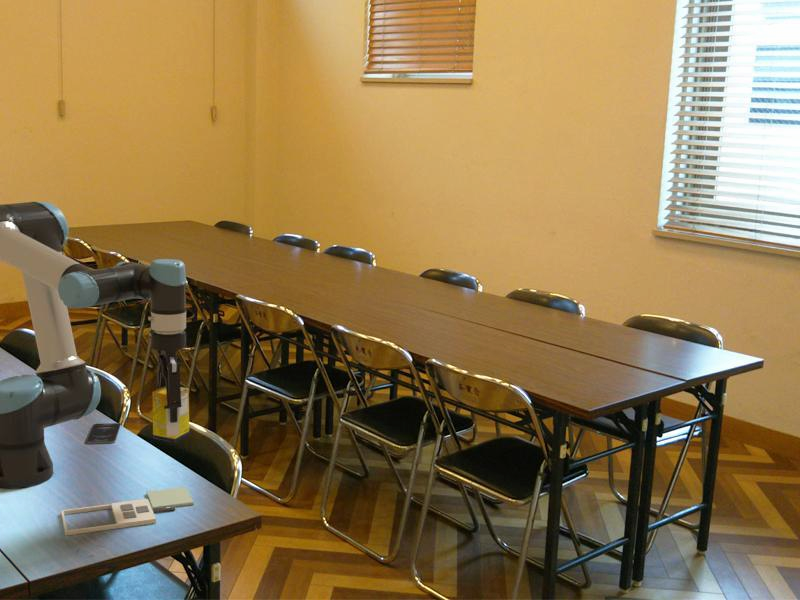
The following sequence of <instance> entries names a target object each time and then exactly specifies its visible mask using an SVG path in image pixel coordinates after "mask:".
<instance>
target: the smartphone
mask: <svg viewBox="0 0 800 600" xmlns="http://www.w3.org/2000/svg"><path fill="white" fill-rule="evenodd" d="M121 426H122V425H121V423H118V422H117V423H111V422H110V423H94V424H92V426H91V428H90V431H89V433H88V435H87V438H86V441H85V443H86V444H88V445H104V444H105V445H108V444H109V445H110V444H114V443H116V441H117V438H118V435H119V432H120V429H121Z"/></svg>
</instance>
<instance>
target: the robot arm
mask: <svg viewBox="0 0 800 600" xmlns="http://www.w3.org/2000/svg"><path fill="white" fill-rule="evenodd" d="M69 234H70V233H69V225H68V221H67V219H66V217H65V215H64V213H63V212H62V211H61V209H60V208H58V207H57V206H56V205H55V204H53V203H51V202H47V201H30V202H29V201H28V202H27V201H26V202H20V203H19V202H17V203H6V204H5V203H4V204H0V262H4V263H6V264H8V265H10V267H11V266H12V267H13V268H14V269H16V270H18V271H20V272H21V274H22V278H23V279H22V280H23V285H24V289H25V293H26V298H27V303H28V304H27V305H28V309H29V311H30V316H31V317H30V319H31V323H32V326H33V327H32V329H33V332H34V338H35V343H36V347H37V350H38V351H37V352H38V357H39V360H40V362H39V363H40V364H39V365H38V367H37V369H36V370H35V375H34V374H33V375H32V374H23V375H19V376H18V375H14V376H11V377H7V378H5V379H2V380H0V488H1V489H20V488H27V487H31V486H32V487H33V486H37V485H39V484H42V483H44V482H46V481H47V480H50V479H51V478H52V476H53V475H54V463H53V461H52V458H51V456H50V453H49V450H48V448H47V446H46V444H45V429H47V428H49V427H52V426H56V425H59V424H60V425H61V424H63V423H67V422H69V421H72V420H79V419H81V418H83V417H85V416H88V415H90V414H92V413H93V412H94V411H95V410H96V409H97V406H98V405H99V403H100V400H101V396H102V391H101V390H102V388H101V382H100V379H99V377H98V376H97V375H96V372H95V371H93V370H92V369H91V368H88V367H86V366H87V365H86V361H85V360H83V359H81V358H80V357H79V356H78V353H77V350H76V349H77V348H76V344H75V340H74V335H73V330H72V324H71V320H70V319H71V318H70V315H69V310H68V308H69V309H87V308H91V307H94V306H99V305H103V304H110V303H116V302H121V301H126V300H127V301H128V300H132V299H141V300H145V301H150V315H149V316H148V317H147V320H148V321H149V322H150V328H151V330H152V331H151V332H150V347H151V348H152V349H153V350H154V351H155V350H156V351H157V385H156V388H157V390H158V389H160V388H162V387H165V386H166V394H167V406H164V409H166V435H167V436H176V435H179V407H181V405H182V404H181V388H180V387H181V363H180V356H178V354H177V352H178V351H180V350H181V351H182V350H183V349H185V348H186V346H187V332H186V329H187V307H186V306H187V305H186V304H187V299H186V298H187V297H186V296H187V277H186V265H185V263H184V262H183V261H182V260H180V259H170V258H159V259H154V260H152V261H151V262H150V264H149V265H147V264H141V263H138V262H135V261H121V262H117V263H116V264H115V265H113V266H112V267H105V268H97V269H92V268H90V267H88V266H86V265H84V264H82V263H80V262H78V261H76V260H74V259H72V258H70V257H68V256H67V255H64V253H63V246H65V245H66V243H67V242H68V240H69V238H68V236H69Z"/></svg>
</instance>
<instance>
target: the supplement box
mask: <svg viewBox="0 0 800 600" xmlns="http://www.w3.org/2000/svg"><path fill="white" fill-rule="evenodd" d="M180 388H181V404H182V405H181V407H179V435H176V436H167V435H166V409H164V406H167V394H166V386H165V387H162V388H160V389H158V388H157V389H156V390H155V389H154V391H152V394H151V395H152V400H151V401H152V438H153V439H157V440H162V441H166V442H170V443H171V442H173V443H175V442H178V441H180V440H181V439H183V438H184V437H186V436H188V435H190V389H189V388H188V387H183V386H182V387H181V386H180Z"/></svg>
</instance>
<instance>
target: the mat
mask: <svg viewBox="0 0 800 600" xmlns="http://www.w3.org/2000/svg"><path fill="white" fill-rule="evenodd" d="M146 496H147V499H148V498H149V499H148V500H149V503H150V505H151V508H152V509H154V508H162V507H170V506H175V508H177V507H178V508H179V507H185V506H191V505H195V502H194V500H193V498H192V496H191V493H189V490H188V487H187V486H182V487H174V488H173V487H172V488H166V489H157V490H150V491H146Z"/></svg>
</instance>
